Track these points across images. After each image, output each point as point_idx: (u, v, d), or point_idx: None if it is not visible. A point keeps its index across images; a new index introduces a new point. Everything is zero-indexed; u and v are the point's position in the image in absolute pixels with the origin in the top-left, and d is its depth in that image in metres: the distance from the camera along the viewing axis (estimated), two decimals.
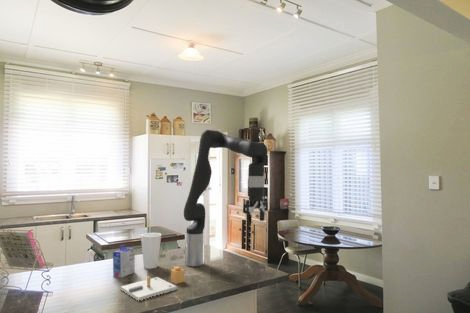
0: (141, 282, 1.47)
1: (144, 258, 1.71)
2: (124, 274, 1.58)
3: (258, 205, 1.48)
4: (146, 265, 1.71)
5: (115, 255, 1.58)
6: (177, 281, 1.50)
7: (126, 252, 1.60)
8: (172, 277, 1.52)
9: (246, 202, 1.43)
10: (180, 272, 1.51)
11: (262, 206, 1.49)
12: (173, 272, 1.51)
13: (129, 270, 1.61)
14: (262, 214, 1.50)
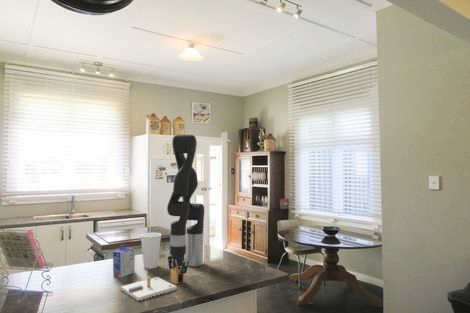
0: (141, 282, 1.47)
1: (144, 258, 1.71)
2: (124, 274, 1.58)
3: None
4: (146, 265, 1.71)
5: (115, 255, 1.58)
6: (177, 281, 1.50)
7: (126, 252, 1.60)
8: (172, 277, 1.52)
9: (187, 264, 1.49)
10: None
11: None
12: (173, 272, 1.51)
13: (129, 270, 1.61)
14: None
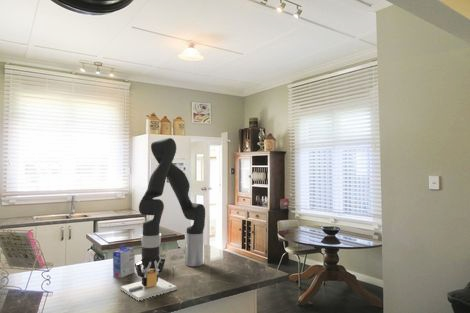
0: (141, 282, 1.47)
1: None
2: (124, 274, 1.58)
3: None
4: None
5: (115, 254, 1.58)
6: None
7: (126, 252, 1.60)
8: (150, 281, 1.40)
9: None
10: None
11: None
12: (151, 275, 1.41)
13: (129, 270, 1.61)
14: None
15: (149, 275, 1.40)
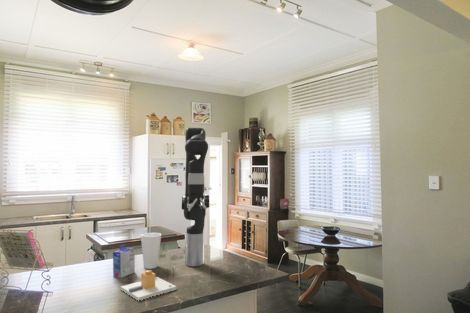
0: None
1: (144, 258, 1.71)
2: (124, 274, 1.58)
3: None
4: (146, 265, 1.71)
5: (115, 255, 1.58)
6: None
7: (126, 252, 1.60)
8: (148, 283, 1.40)
9: None
10: None
11: None
12: (150, 276, 1.41)
13: (129, 270, 1.61)
14: None
15: (148, 276, 1.40)
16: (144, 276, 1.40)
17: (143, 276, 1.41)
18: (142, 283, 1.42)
